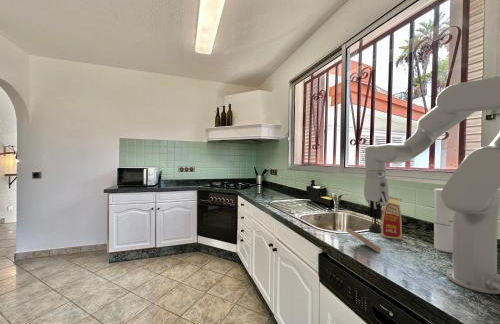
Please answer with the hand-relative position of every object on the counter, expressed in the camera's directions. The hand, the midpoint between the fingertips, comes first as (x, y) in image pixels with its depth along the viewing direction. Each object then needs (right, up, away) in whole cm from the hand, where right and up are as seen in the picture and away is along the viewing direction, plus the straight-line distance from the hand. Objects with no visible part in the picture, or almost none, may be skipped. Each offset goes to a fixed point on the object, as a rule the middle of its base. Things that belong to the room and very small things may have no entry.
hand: (375, 217), depth 94 cm
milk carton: (+17, -13, +16) cm, 27 cm away
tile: (-1, -12, 0) cm, 12 cm away
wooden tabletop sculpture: (0, -6, 0) cm, 6 cm away
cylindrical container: (+29, -13, -1) cm, 32 cm away
